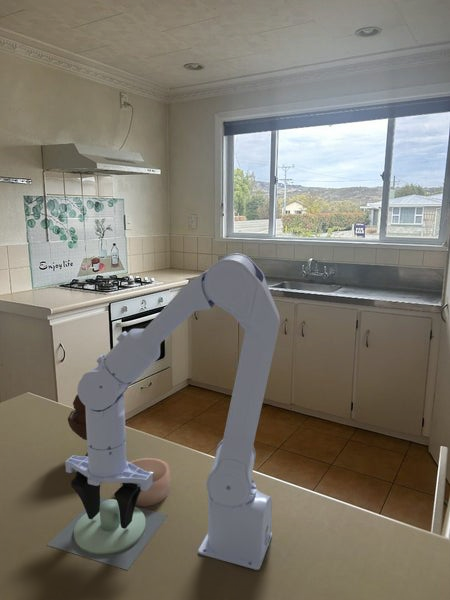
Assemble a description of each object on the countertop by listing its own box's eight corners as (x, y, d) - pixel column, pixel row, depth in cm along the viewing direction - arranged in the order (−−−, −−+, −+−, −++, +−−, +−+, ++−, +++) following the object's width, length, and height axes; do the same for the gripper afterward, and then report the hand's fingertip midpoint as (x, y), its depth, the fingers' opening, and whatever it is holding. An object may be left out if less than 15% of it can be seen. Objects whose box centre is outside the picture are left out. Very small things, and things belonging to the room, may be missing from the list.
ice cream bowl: (112, 474, 87) (109, 401, 84) (59, 467, 89) (55, 396, 86) (133, 446, 97) (131, 381, 94) (86, 441, 99) (82, 376, 97)
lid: (157, 515, 75) (157, 492, 74) (121, 562, 65) (120, 536, 64) (101, 501, 79) (100, 479, 78) (58, 544, 68) (57, 518, 68)
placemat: (168, 516, 75) (168, 514, 75) (127, 571, 64) (127, 570, 63) (97, 497, 80) (97, 496, 80) (47, 546, 68) (47, 545, 68)
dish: (178, 482, 85) (178, 463, 84) (155, 511, 76) (154, 490, 75) (136, 473, 87) (135, 454, 87) (109, 500, 79) (108, 479, 78)
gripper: (49, 444, 67) (55, 524, 70) (134, 463, 63) (137, 548, 65) (79, 424, 74) (83, 498, 77) (158, 439, 69) (160, 518, 72)
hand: (110, 519), depth 71 cm, fingers open, 5 cm apart
